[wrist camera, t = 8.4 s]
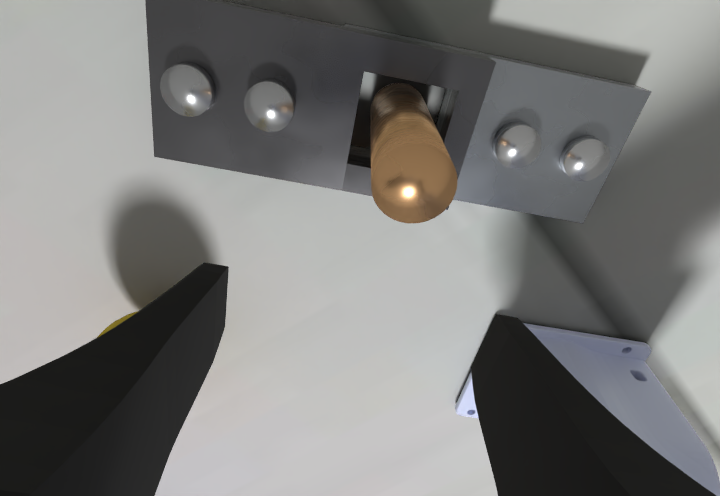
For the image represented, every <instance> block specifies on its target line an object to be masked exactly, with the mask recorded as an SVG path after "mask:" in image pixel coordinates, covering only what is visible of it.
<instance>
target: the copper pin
mask: <svg viewBox="0 0 720 496" xmlns="http://www.w3.org/2000/svg"><path fill="white" fill-rule="evenodd" d="M370 140H371V190H372V195H373V198H374V201H375V203H376V204H377V206H378V207H379V209H380V210H381V211H382V212H383V213H384V214H386V215H387V216H388V217H390V218H392V219H394V220H396V221H400V222H404V223H420V222H425V221H428V220H430V219H432V218H435V217H436V216H438V215H439V214H441V213H442V212H443V211H444V210H445V209H446V208H447V207H448V206H449V205H450V203H451V202H452V200H453V198H454V196H455V193H456V190H457V173H456V169H455V167H454V164H453V162H452V160H451V158H450V156H449V154H448V151H447V149H446V147H445V145H444V143H443V141H442V138H441V136H440V134H439V132H438V130H437V127H436V125H435V123H434V121H433V119H432V117H431V114H430V112H429V110H428V108H427V106H426V104H425V101H424V99H423V97H422V95H421V94H420V92H419V91H418V90H417V89H416V88H414V87H413V86H411V85H409V84H406V83H392V84H389V85H387V86H385V87H383V88H382V89H381V90H379V91H378V92H377V94H376V95H375V97H374V98H373V100H372V103H371V107H370Z"/></svg>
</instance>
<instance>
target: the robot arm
mask: <svg viewBox="0 0 720 496" xmlns="http://www.w3.org/2000/svg"><path fill="white" fill-rule="evenodd" d="M228 268H229V267H227V266H221V265H216V264H210V263H203V264H202V265H200V266H199V267H197V268H196V269H195V270H194V271H192V272H191V273H190V274H189V275H187V276H186V277H185V278H183V279H182V280H181V281H180V282H178V283H177V284H176V285H174V286H173V287H172V288H170V289H169V290H168V291H167V292H165V293H164V294H162V295H161V296H160V297H158V298H157V299H156V300H154V301H153V302H151V303H150V304H149V305H147V306H146V307H144V308H143V309H142V310H140V311H139V312H137V313H136V314H134V315H133V316H131V317H129V318H128V319H126V320H125V321H123V322H122V323H120V324H119V325H117V326H116V327H114V328H113V329H111V330H109V331H108V332H106V333H104V334H103V335H101V336H99V337H98V338H96V339H94V340H92V341H91V342H89V343H87V344H85V345H83V346H81V347H80V348H78V349H76V350H74V351H72V352H70V353H68V354H66V355H64V356H62V357H60V358H58V359H56V360H54V361H52V362H49V363H47V364H45V365H43V366H41V367H39V368H37V369H34V370H32V371H30V372H28V373H26V374H24V375H22V376H19V377H17V378H15V379H13V380H10V381H8V382H5V383H3V384H0V496H154V495H155V492H156V490H157V487H158V484H159V482H160V479H161V476H162V473H163V471H164V468H165V465H166V462H167V460H168V457H169V454H170V452H171V450H172V448H173V445H174V443H175V441H176V438H177V436H178V434H179V432H180V430H181V428H182V426H183V424H184V421H185V419H186V417H187V415H188V413H189V411H190V409H191V407H192V405H193V403H194V401H195V399H196V397H197V394H198V392H199V390H200V388H201V386H202V384H203V382H204V380H205V378H206V376H207V373H208V371H209V369H210V367H211V365H212V363H213V361H214V358H215V355H216V352H217V349H218V346H219V343H220V340H221V337H222V334H223V331H224V328H225V317H226V300H227V284H228ZM650 353H651V348H650V347H649V345H648V344H647V343H644V342H638V341H631V340H625V339H619V338H613V337H607V336H600V335H594V334H588V333H582V332H576V331H569V330H563V329H557V328H551V327H544V326H538V325H532V324H526V323H522V322H521V321H520V320H519V319H518V318H515V317H509V316H503V315H498V314H496V315H495V317H494V320H493V322H492V324H491V326H490V328H489V330H488V332H487V334H486V336H485V338H484V341H483V343H482V345H481V347H480V349H479V351H478V353H477V355H476V357H475V360H474V362H473V364H472V366H471V373H470V375H469V377H468V379H467V382H466V384H465V386H464V388H463V390H462V392H461V395H460V397H459V399H458V401H457V403H456V406H455V410H456V413H457V414H458V415H461V416H467V417H474V418H479V421H480V425H481V429H482V433H483V437H484V441H485V444H486V448H487V452H488V456H489V460H490V464H491V467H492V471H493V475H494V479H495V483H496V487H497V492H498V496H720V481H719V477H718V473H717V469H716V467H715V464H714V461H713V459H712V457H711V455H710V453H709V451H708V449H707V447H706V446H705V444H704V443H703V441H702V440H701V438H700V437H699V436H698V434H697V433H696V431H695V430H694V429H693V427H692V426H691V425H690V423H689V422H688V420H687V419H686V418H685V416H684V415H683V413H682V412H681V411H680V409H679V408H678V407H677V405H676V404H675V402H674V401H673V400H672V398H671V397H670V395H669V394H668V393H667V391H666V390H665V389H664V387H663V386H662V384H661V383H660V382H659V380H658V379H657V377H656V376H655V375H654V373H653V372H652V371H651V369H650V368H649V366H648V365H647V364H646V362H645V360H646V359H647V358H648V356H649V355H650Z"/></svg>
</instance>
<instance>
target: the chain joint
mask: <svg viewBox="0 0 720 496" xmlns="http://www.w3.org/2000/svg"><path fill="white" fill-rule="evenodd" d="M146 18H147V35H148V53H149V70H150V88H151V106H152V123H153V141H154V157H159V158H165V159H170V160H176V161H181V162H187V163H192V164H198V165H203V166H209V167H215V168H220V169H226V170H231V171H237V172H242V173H248V174H253V175H259V176H264V177H270V178H275V179H281V180H286V181H292V182H297V183H303V184H309V185H314V186H320V187H325V188H331V189H336V190H342V191H347V192H353V193H358V194H364V195H369V196H373V195H372V190H371V149H369V148H364V147H358V146H353V145H350V144H351V138H352V133H353V127H354V122H355V117H356V111H357V106H358V100H359V95H360V89H361V84H362V78H363V73H364V71H365V72H370V73H375V74H380V75H385V76H390V77H395V78H400V79H404V80H409V81H414V82H419V83H424V84H429V85H434V86H439V87H444V88H446V91H445V95H444V98H443V102H442V105H441V109H440V112H439V116H438V120H437V123H436V127H437V130H438V132H439V134H440V136H441V138H442V141H443V143H444V145H445V147H446V149H447V151H448V154H449V156H450V158H451V160H452V162H453V164H454V167H455V169H456V173H457V190H456V193H455V196H454V198H453V200H458V201H464V202H469V203H475V204H480V205H486V206H491V207H497V208H502V209H508V210H513V211H519V212H524V213H529V214H535V215H540V216H546V217H551V218H557V219H562V220H568V221H573V222H579V223H584V221H585V219H586V217H587V215H588V213H589V211H590V209H591V207H592V205H593V203H594V201H595V200H596V198H597V196H598V194H599V192H600V190H601V188H602V186H603V184H604V182H605V180H606V178H607V176H608V174H609V172H610V171H611V169H612V167H613V165H614V163H615V161H616V159H617V157H618V155H619V153H620V151H621V149H622V147H623V145H624V143H625V142H626V140H627V138H628V136H629V134H630V132H631V130H632V128H633V126H634V124H635V122H636V120H637V118H638V116H639V114H640V113H641V111H642V109H643V107H644V105H645V103H646V101H647V99H648V97H649V95H650V93H651V91H649V90H646V89H644V88H641V87H639V86H636V85H632V84H627V83H622V82H618V81H613V80H608V79H604V78H599V77H594V76H590V75H585V74H580V73H576V72H571V71H566V70H562V69H557V68H552V67H547V66H543V65H538V64H533V63H529V62H524V61H519V60H515V59H510V58H505V57H501V56H496V55H491V54H487V53H482V52H477V51H473V50H468V49H463V48H458V47H454V46H449V45H444V44H440V43H435V42H430V41H426V40H421V39H416V38H412V37H407V36H402V35H398V34H393V33H388V32H384V31H379V30H374V29H369V28H365V27H360V26H355V25H351V24H346V23H345V25H344V26H341V25H336V24H331V23H327V22H322V21H317V20H313V19H308V18H303V17H298V16H294V15H289V14H284V13H280V12H275V11H270V10H266V9H261V8H256V7H251V6H247V5H242V4H237V3H233V2H228V1H223V0H146ZM448 208H449V206H448V207H447V208H446V209H447V210H448Z"/></svg>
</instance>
